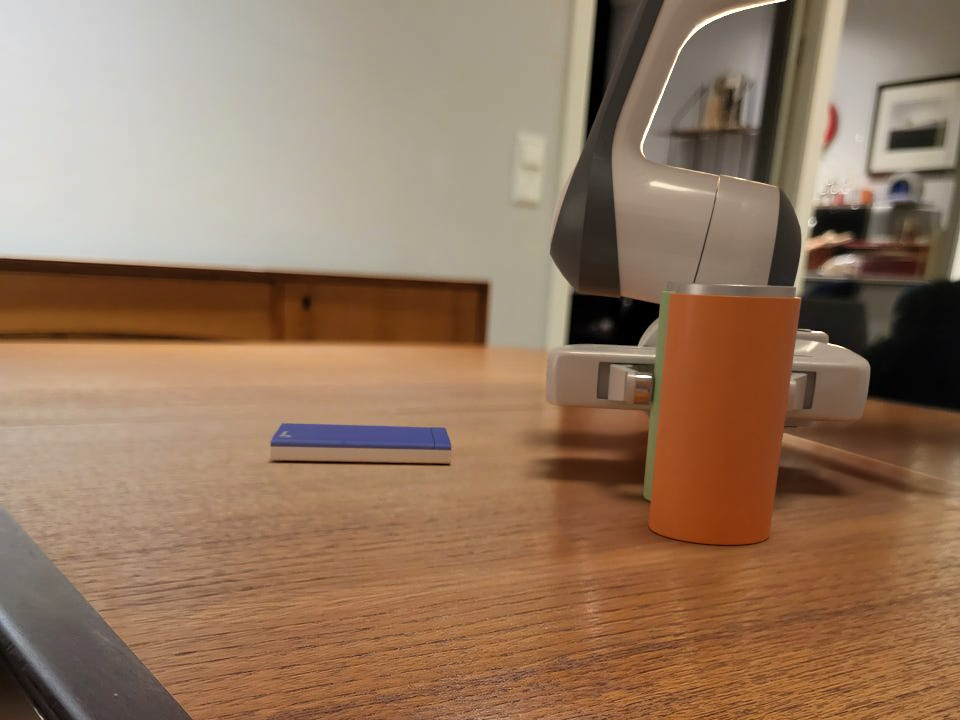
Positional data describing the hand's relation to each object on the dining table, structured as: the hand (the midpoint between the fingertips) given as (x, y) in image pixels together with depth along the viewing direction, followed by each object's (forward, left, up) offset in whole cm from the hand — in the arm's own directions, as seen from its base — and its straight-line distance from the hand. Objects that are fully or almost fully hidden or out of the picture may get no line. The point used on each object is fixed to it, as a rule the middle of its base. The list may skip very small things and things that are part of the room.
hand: (709, 393), depth 58 cm
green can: (0, -1, -7) cm, 7 cm away
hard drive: (+18, -18, -7) cm, 26 cm away
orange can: (+3, +7, -7) cm, 10 cm away
